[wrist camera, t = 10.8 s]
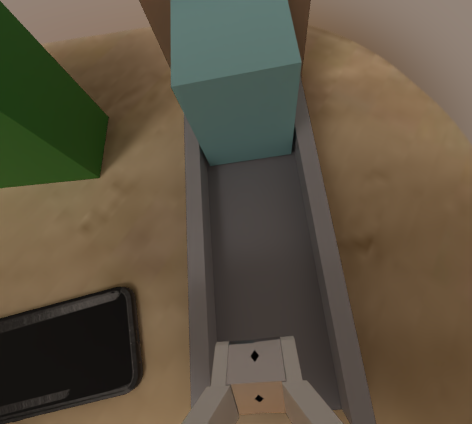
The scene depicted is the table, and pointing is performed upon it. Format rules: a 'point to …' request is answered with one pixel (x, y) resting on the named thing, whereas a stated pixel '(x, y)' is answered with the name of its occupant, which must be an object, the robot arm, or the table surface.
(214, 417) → the robot arm
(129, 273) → the table surface
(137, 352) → the phone
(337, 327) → the keeper track
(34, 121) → the hardback book
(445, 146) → the table surface
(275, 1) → the block
